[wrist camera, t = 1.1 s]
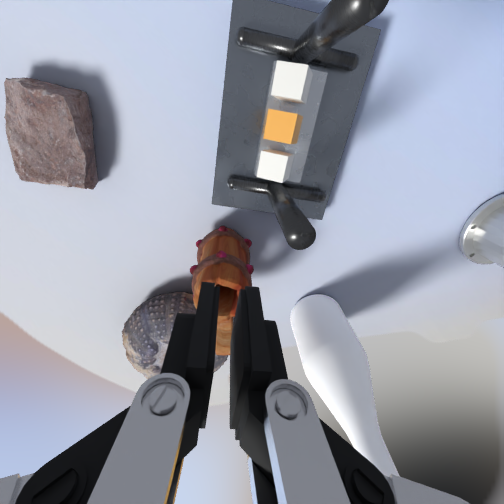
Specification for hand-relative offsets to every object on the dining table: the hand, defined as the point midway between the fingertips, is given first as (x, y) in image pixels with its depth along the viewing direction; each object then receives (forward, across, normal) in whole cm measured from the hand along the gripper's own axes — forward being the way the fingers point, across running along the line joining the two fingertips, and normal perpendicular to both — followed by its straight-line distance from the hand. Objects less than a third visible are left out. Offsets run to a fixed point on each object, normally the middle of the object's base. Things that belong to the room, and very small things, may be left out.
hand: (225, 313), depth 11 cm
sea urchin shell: (+30, +5, +29) cm, 42 cm away
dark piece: (+29, -6, -7) cm, 31 cm away
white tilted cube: (+25, -6, -11) cm, 28 cm away
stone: (+30, +21, -1) cm, 37 cm away
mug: (+29, -1, +14) cm, 32 cm away
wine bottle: (+29, -19, +23) cm, 42 cm away
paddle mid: (+25, -6, -7) cm, 27 cm away
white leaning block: (+25, -6, -3) cm, 26 cm away
